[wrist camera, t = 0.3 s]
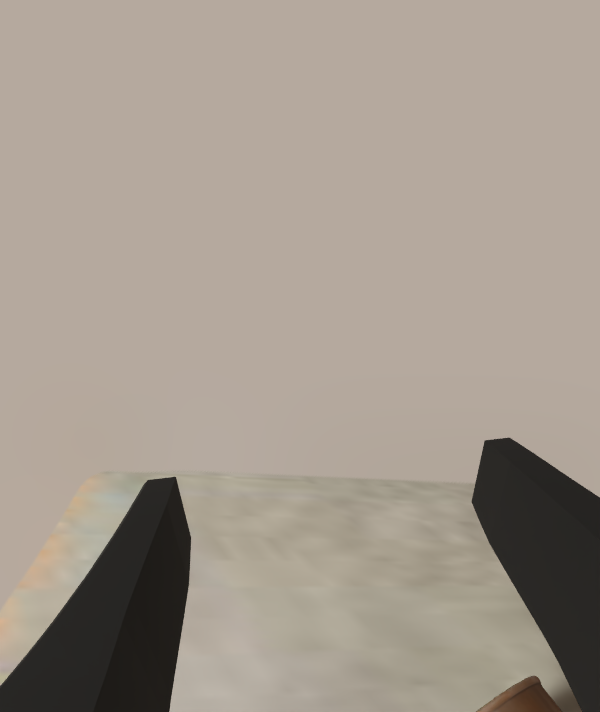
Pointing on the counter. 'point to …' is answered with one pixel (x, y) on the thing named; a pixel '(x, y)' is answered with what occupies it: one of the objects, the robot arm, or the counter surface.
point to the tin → (523, 699)
